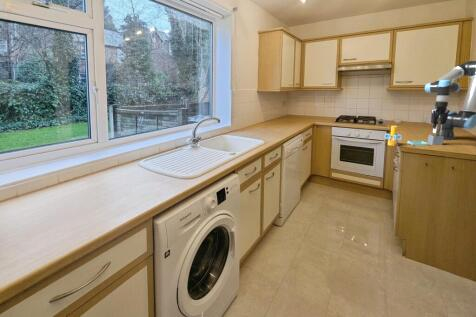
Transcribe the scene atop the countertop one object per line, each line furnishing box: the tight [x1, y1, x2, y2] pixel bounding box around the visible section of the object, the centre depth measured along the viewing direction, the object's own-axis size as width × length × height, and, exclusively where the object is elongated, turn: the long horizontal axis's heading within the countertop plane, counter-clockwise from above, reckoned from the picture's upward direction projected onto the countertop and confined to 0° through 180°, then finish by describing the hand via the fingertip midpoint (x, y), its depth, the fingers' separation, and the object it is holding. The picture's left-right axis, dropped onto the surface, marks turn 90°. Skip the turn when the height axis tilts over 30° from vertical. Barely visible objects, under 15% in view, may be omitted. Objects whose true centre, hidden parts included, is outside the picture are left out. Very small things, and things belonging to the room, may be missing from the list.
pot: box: [427, 134, 444, 146], centre depth 212 cm, size 7×7×8 cm
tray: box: [406, 140, 430, 147], centre depth 213 cm, size 11×10×2 cm
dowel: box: [433, 121, 441, 136], centre depth 210 cm, size 3×3×17 cm
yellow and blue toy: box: [384, 125, 403, 147], centre depth 213 cm, size 12×10×15 cm
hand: (436, 132), depth 210 cm, fingers closed on dowel, 3 cm apart
